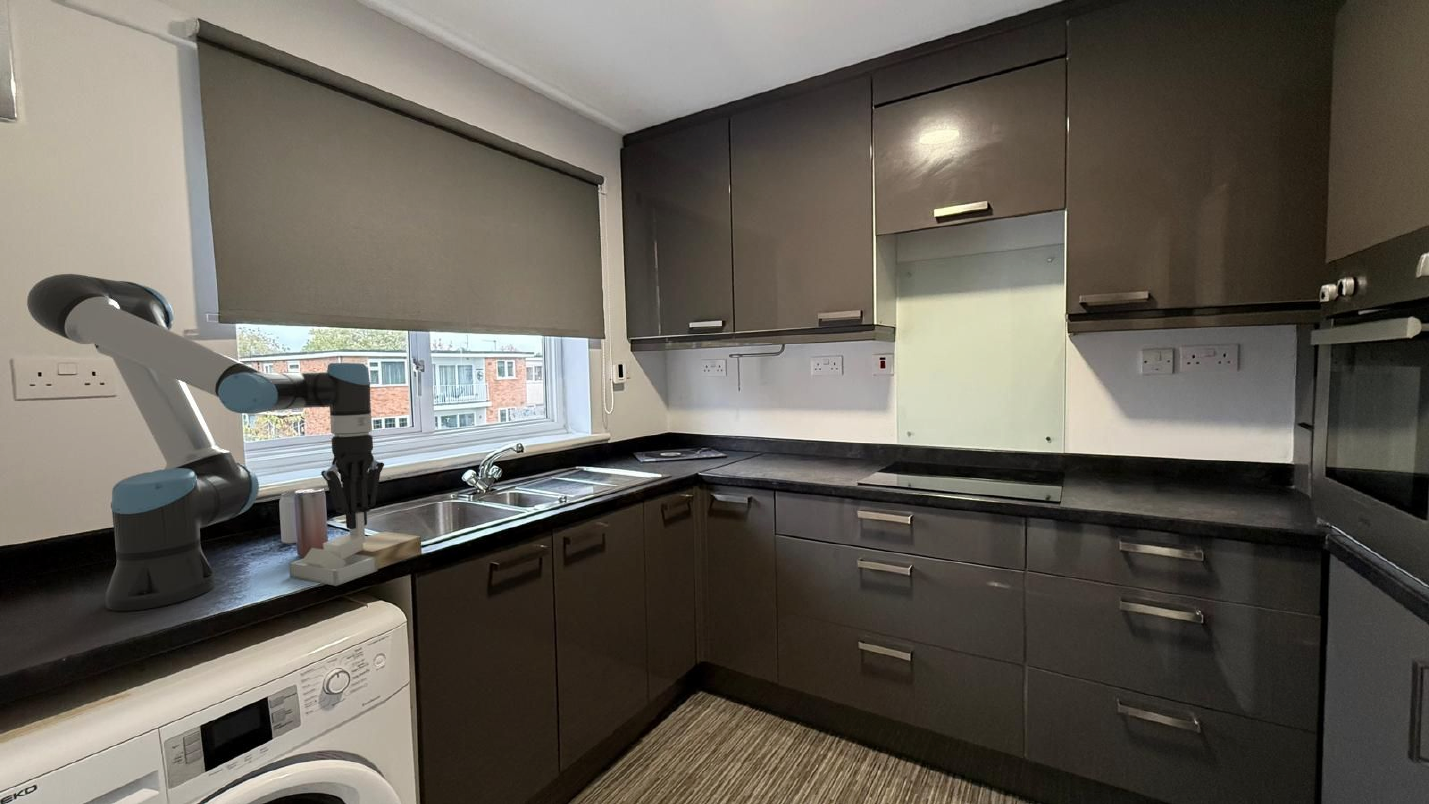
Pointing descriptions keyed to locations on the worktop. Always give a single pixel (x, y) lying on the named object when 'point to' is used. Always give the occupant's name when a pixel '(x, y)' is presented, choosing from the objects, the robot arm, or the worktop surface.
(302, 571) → the tray
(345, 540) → the tile rear
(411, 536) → the board
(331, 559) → the tile front
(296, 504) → the beverage can
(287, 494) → the can
